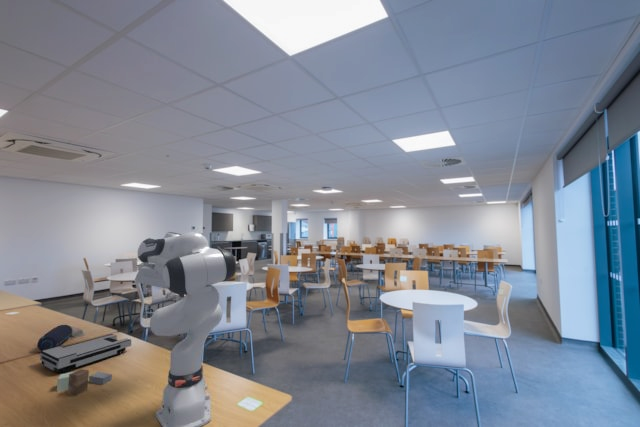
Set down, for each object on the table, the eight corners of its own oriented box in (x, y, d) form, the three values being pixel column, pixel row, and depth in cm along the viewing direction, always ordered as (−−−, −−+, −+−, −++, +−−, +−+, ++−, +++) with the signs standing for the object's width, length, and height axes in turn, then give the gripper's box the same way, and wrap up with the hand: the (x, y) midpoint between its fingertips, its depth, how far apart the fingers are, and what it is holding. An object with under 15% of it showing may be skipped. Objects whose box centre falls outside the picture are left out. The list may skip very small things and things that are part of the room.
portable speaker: (53, 340, 176) (54, 324, 177) (73, 338, 180) (74, 322, 181) (33, 355, 154) (34, 336, 154) (57, 352, 158) (58, 334, 159)
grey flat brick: (111, 380, 128) (112, 374, 128) (102, 385, 124) (103, 378, 124) (97, 378, 129) (98, 371, 130) (88, 383, 126) (89, 376, 126)
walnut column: (87, 389, 120) (88, 370, 120) (76, 395, 115) (77, 375, 116) (79, 388, 120) (80, 369, 121) (67, 394, 116) (69, 374, 117)
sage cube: (72, 388, 121) (73, 376, 121) (56, 391, 118) (57, 379, 119) (74, 383, 125) (75, 371, 126) (59, 386, 122) (60, 374, 123)
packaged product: (86, 328, 187) (68, 332, 178) (86, 335, 186) (67, 340, 177) (72, 324, 194) (53, 328, 185) (71, 331, 194) (53, 336, 185)
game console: (130, 352, 159) (131, 337, 159) (57, 377, 131) (58, 359, 131) (111, 345, 169) (112, 331, 169) (39, 367, 141) (40, 350, 141)
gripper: (138, 262, 122) (128, 293, 122) (187, 273, 128) (178, 302, 127) (142, 259, 128) (133, 288, 128) (189, 269, 134) (180, 298, 133)
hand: (156, 295), depth 128 cm, fingers open, 8 cm apart
